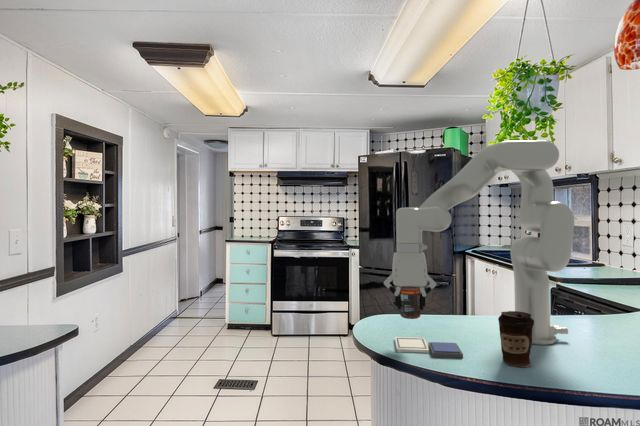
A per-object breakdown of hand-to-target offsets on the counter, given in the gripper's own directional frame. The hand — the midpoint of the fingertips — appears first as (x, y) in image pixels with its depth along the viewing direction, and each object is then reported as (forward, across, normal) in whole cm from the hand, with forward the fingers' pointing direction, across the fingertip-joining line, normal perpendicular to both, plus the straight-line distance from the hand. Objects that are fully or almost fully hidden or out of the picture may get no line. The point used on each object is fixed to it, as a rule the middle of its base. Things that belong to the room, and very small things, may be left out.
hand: (410, 308), depth 109 cm
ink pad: (+11, -9, +4) cm, 15 cm away
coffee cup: (+11, -26, +10) cm, 30 cm away
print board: (+11, 0, 0) cm, 11 cm away
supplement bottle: (+3, 0, 0) cm, 3 cm away
